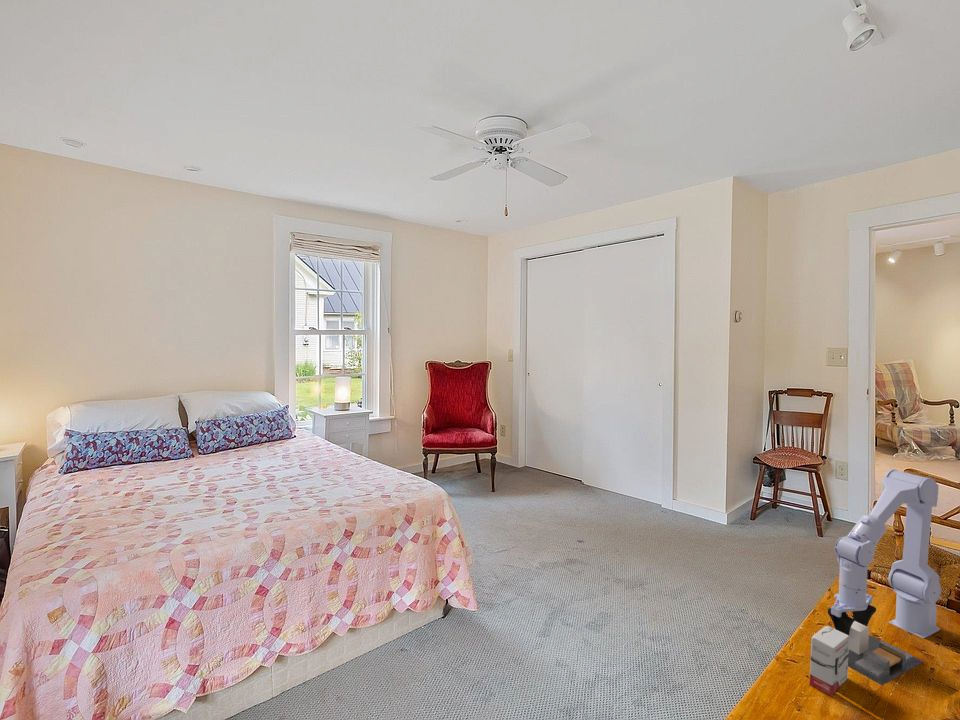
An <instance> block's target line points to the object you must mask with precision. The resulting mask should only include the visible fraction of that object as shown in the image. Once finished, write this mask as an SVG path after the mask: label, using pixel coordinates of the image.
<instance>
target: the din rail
mask: <svg viewBox="0 0 960 720" xmlns="http://www.w3.org/2000/svg"><path fill="white" fill-rule="evenodd" d="M878 648H881V649H883V650H885V651H887V652H889V653H891V654H893V655H895V656H897V657H899V658H901V661H900V662H898V663H896V664H894V665H892V666H891V667H890V661H889V660H887V659H885V658H883V657H881V656H879V655H878V654H876V653H874V652H872V651H874V650H876V649H878ZM922 663H924V661H923V660H921V659H919V658H917V657H915V656H913V655H912V654H911V653H908V652H907V651H904V650H902V649H900V648H898V647H896V646H895V645H892V644H890V643H888V642H886V641H884V640H880V639H878V638H877V637H874V636H872V635H870V634H869V644H868V649H865V650H863V653H862V654H860V655H859V654H857V653H855V652H853V651H851V650H849V654H848V668H850V669H852V670H854V671H856V673H859V674H861V675H863V676H864V677H866V678H868V679H870V680H871V681H873V682H875V683H877V684H879V685H880V686H884V685H885V684H887V683H889V682H890V681H892V680H894V679H896V678H898V677H899V676H901V675H902V674H904V673H906V672H908V671H910V670H912V669H913V668H915V667H917V666H918V665H920V664H922Z"/></svg>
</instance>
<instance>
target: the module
mask: <svg viewBox="0 0 960 720" xmlns="http://www.w3.org/2000/svg"><path fill="white" fill-rule="evenodd" d="M833 628H834V629H835V627H834V626H833ZM869 635H870V627H868V625H867V626H865V625H863V624H860V623H858V622H856V621H854V622H853V624H852V626H851V628H850V632H849V650H851V651H853V652H855V653H857V654H859V655H860V654H862V653H863V650H865V649H868V644H869Z"/></svg>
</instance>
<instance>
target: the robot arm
mask: <svg viewBox="0 0 960 720" xmlns="http://www.w3.org/2000/svg"><path fill="white" fill-rule="evenodd" d="M881 482H882V485H881V486H882V491H881V492H882V493H881V495H880V496H879V498H878V499H877V501H876V503H875V504H874V506H873V507H872V510H871V512H870V513H869V514H866V515H865V514H864V515H862V516H861V517H860V518H859V519H858V521H857V522H856V523H855V525H854V526H853V528H851V530H850V532H849V533H848V534H847V535H845V536H841V537H838V539H837V540H836V543H835V546H834V548H833V550H834V551H833V552H834V554H835V555H836V557H837V558H836V559H837V561H836V562H837V563H838V564H839V572H838V573H839V574H838V575H839V576H838V577H839V578H838V579H839V580H838V582H839V583H838V593H835V594H834V595H833V596H834V598H835V602H834V604H833V605H832V606H830V608H828V609H827V615H828V616H829V617H830V620H831V621H832V624H833V628H834V627H835V629H836V630H838V631H840V632H842V633H845V634H847V635H849V632H850V628H851V626H852V624H853V622H854V621H856V622H858V623H860V624H863V625H865V626H867V627H868V625H869V622H870V620H871V618H872V616H874V614H875V613H876V611H877V608H876V607H875V606H873V605H871V604H873V595H871V594H868V593H867V592H868V591H867V590H868V589H867V588H868V566H869V565H870V564H871V563H872V562H873V560H874V558H875V552H876V550H877V548H876V546H877V545H878V543H879V542H880V540H881V539H882V537H883V536H884V534H885V533H886V532H887V527H886V523H887V522H888V520H890V519H891V517H892V516H893V515H894V514H895V513H896V512H897V511H898V509H899V508H901V506H902V505H904V504H906V514H905V523H904V525H905V527H904V536H903V537H904V540H903V550H902V551H903V553H902V559H899V560H896V561H894V562H892V564H891V568H890V571H889V574H888V583H889V586H890V588H893V593H895V594H896V599H895V602H896V603H895V618H894V619H892V620H890V621H888V623H889V624H891V625H894V626H895V627H897V628H900V629H902V630H904V631H907V632H909V633H910V634H914V635H915V636H918V637H920V638H922V639H926V638H928V637H930V636H932V635H933V634H936V633H937V632H939V631H941V628H940V627H938V626H937V604H936V603H937V602H938V600H939V599H940V597H941V593H942V586H941V585H940V583H941V582H940V576H939V574H938V573H937V572H936V571H935V570H934V569H933V568H932V567H930V565H929V564H928V562H929V560H928V559H929V548H930V537H931V527H932V526H931V524H932V512H933V507H935V508H936V507H937V505H938V501H939V500H938V499H939V497H938V496H939V484H938V483H937V482H936V481H935V479H933V478H932V477H925V476H922V475H916V474H912V473H909V472H906V471H900V470H898V469H894V468H893V469H889V470H888V471H887V472H885V474H884V476H883V479H882V481H881ZM848 612H852V613H851V614H852V617H850V616H849V615H848V614H847V613H848Z"/></svg>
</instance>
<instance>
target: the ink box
mask: <svg viewBox="0 0 960 720" xmlns="http://www.w3.org/2000/svg"><path fill="white" fill-rule="evenodd" d="M810 639H811V643H810V667H809V682H808V683H809V686H812V687H813V688H816V689H817V690H819V691H821V692H823V693H825V694H827V695H828V696H830V697H832V696H834V695H835V694H836V693H837V692H838V691H837V689H839V687H841V686H842V685H843V684H844V683H845V681H847V680H848V675H849V674H848V671H849V670H848V669H849V667H848V654H849V635H847V634H845V633H842V632H840V631H838V630H836V629H834V627H831V626H829V625H825V626H824V627H822V628H820V629H819V630H818V631H817V632H815V634H813V635H812V637H811V638H810Z"/></svg>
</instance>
